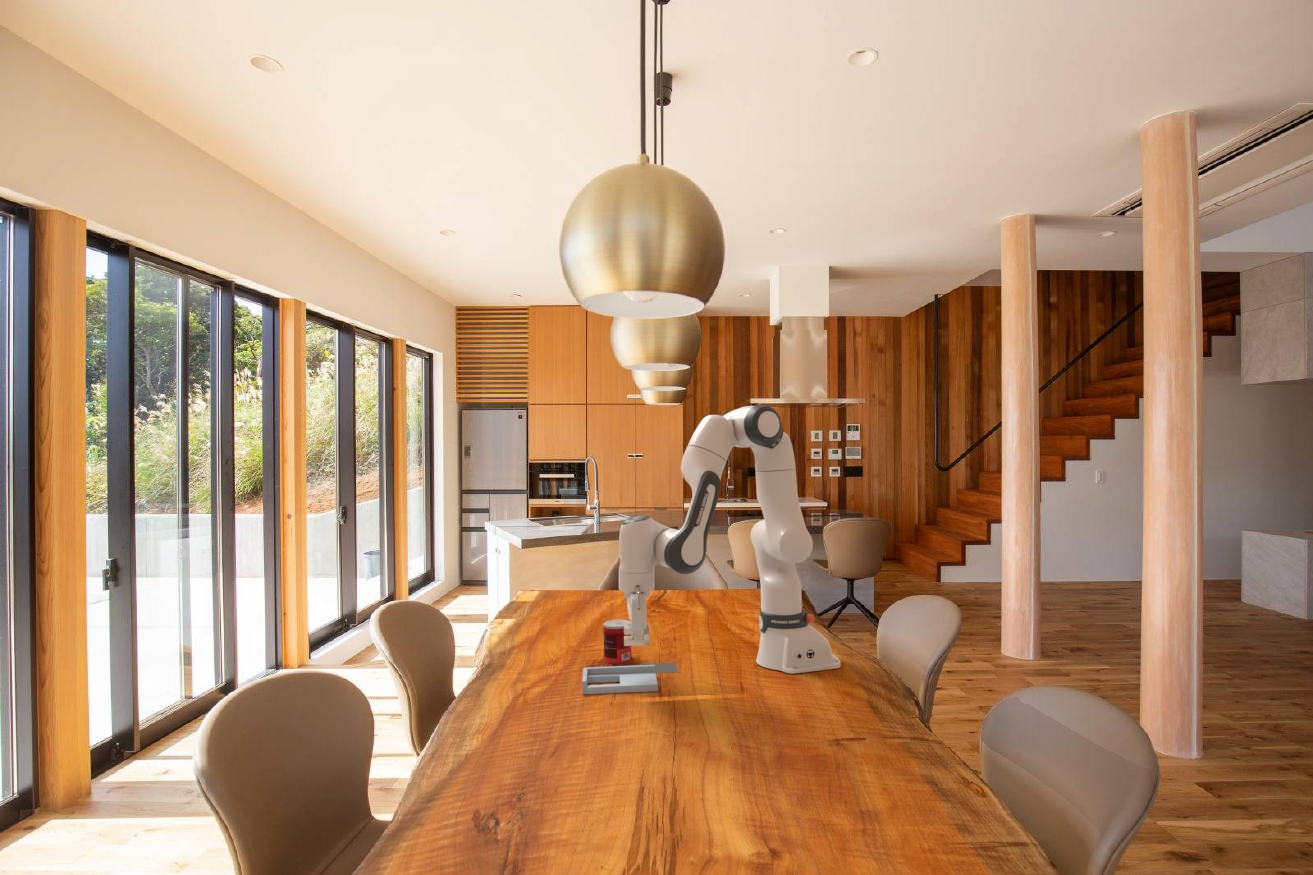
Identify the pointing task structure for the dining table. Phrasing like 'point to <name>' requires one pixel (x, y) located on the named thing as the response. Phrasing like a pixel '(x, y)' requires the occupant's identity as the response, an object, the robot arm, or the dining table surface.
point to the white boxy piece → (630, 639)
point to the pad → (664, 667)
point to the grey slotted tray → (619, 679)
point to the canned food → (616, 642)
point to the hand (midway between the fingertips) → (636, 638)
